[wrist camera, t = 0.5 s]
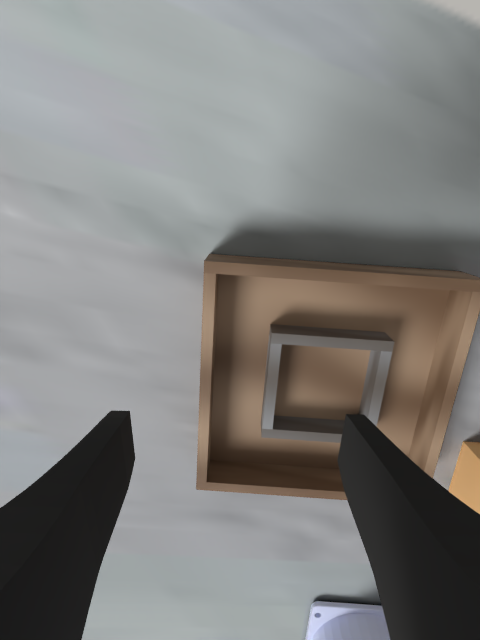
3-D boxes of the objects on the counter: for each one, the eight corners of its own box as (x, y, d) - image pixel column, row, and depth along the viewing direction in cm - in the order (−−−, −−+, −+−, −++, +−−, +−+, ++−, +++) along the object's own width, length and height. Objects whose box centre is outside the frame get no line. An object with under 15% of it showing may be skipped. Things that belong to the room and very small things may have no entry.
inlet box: (408, 476, 25) (424, 505, 22) (201, 461, 25) (196, 489, 22) (460, 271, 20) (488, 280, 18) (209, 253, 20) (204, 260, 18)
